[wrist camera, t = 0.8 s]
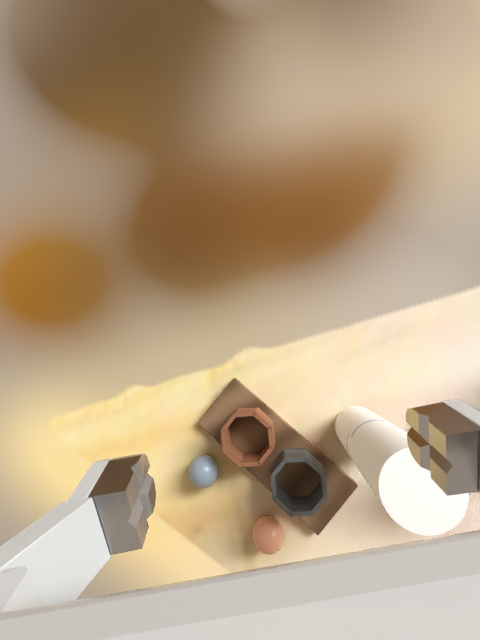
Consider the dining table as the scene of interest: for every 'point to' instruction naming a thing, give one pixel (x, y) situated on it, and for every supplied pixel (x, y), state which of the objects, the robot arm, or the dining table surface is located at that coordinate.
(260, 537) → the terracotta ball
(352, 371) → the dining table surface
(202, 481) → the slate ball
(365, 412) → the cylindrical container
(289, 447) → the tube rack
